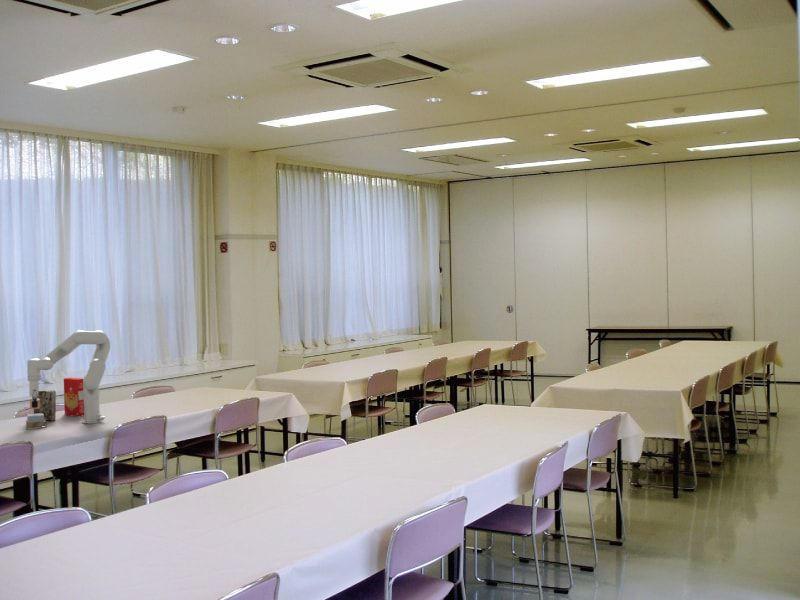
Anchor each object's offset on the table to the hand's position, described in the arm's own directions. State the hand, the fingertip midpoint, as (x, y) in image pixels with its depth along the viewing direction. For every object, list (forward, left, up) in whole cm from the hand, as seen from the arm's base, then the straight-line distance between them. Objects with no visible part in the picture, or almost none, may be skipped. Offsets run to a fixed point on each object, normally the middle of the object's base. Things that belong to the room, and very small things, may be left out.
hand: (34, 406), depth 513 cm
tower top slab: (0, 0, -9) cm, 9 cm away
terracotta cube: (0, 0, -1) cm, 1 cm away
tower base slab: (0, -1, -13) cm, 13 cm away
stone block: (+8, -20, -13) cm, 25 cm away
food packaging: (0, -41, -13) cm, 43 cm away
